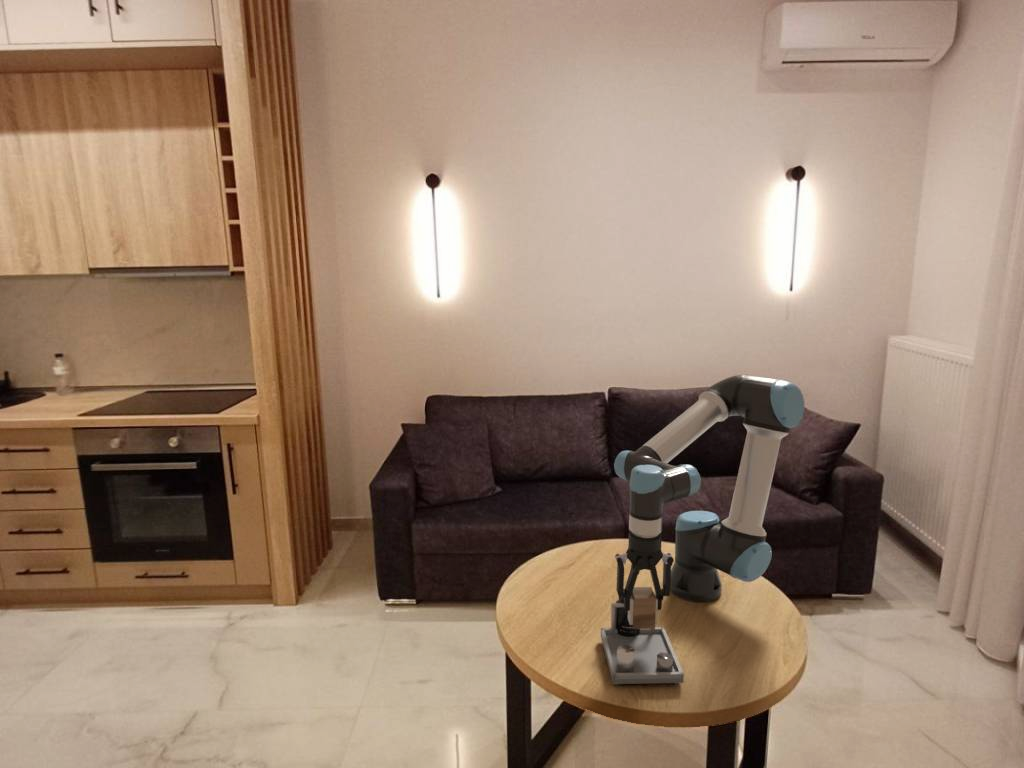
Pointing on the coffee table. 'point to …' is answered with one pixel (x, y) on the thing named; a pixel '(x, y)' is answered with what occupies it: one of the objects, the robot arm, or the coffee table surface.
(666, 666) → the silver metal dome
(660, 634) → the grey tray with handle
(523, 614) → the coffee table surface
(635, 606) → the walnut block
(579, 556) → the coffee table surface
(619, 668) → the silver rounded piece
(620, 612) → the supplement bottle
